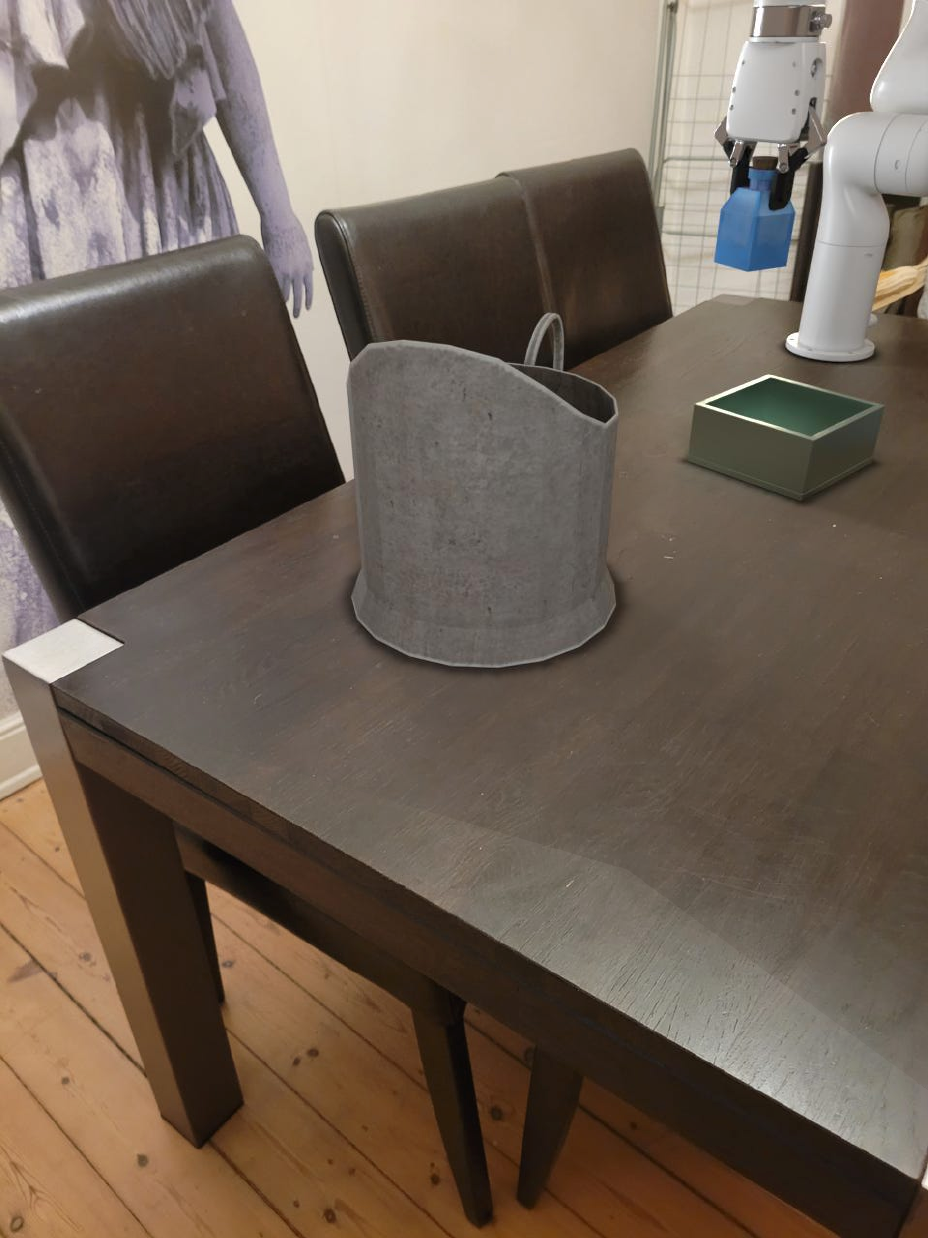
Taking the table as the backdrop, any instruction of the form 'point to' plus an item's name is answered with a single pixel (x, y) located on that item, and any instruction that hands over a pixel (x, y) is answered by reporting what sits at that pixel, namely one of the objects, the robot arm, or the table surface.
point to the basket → (784, 435)
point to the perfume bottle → (754, 223)
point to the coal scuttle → (480, 502)
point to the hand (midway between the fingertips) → (758, 203)
